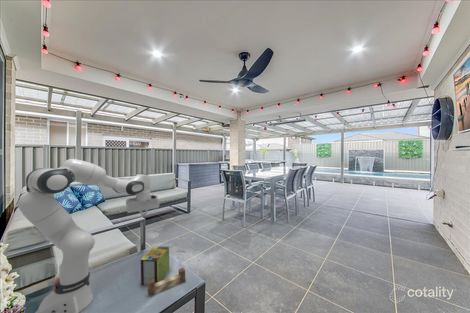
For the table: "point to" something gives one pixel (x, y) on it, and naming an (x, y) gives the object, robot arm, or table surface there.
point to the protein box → (155, 264)
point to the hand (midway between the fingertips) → (143, 216)
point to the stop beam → (166, 283)
